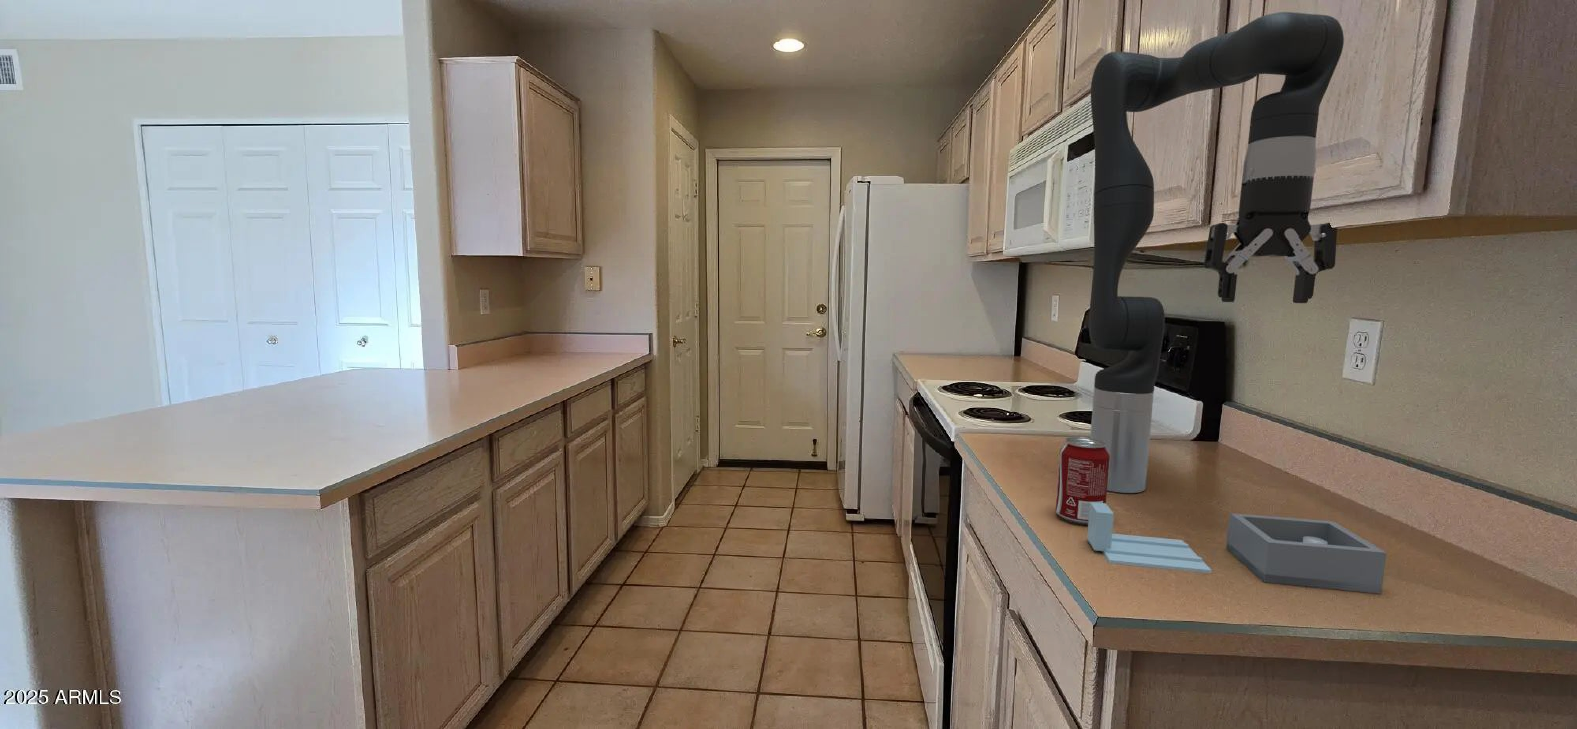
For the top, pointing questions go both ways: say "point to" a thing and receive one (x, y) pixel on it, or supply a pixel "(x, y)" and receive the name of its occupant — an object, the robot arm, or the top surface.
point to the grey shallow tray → (1305, 553)
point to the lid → (1139, 546)
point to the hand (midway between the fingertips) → (1263, 302)
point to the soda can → (1081, 478)
